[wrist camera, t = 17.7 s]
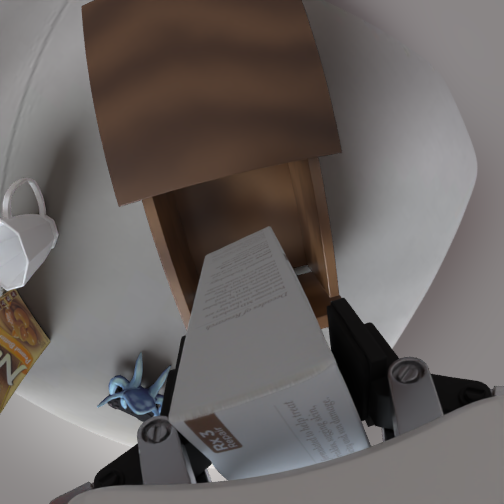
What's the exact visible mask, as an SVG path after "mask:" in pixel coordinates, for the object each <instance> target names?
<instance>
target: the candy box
mask: <svg viewBox="0 0 504 504" xmlns="http://www.w3.org/2000/svg"><path fill="white" fill-rule="evenodd" d="M49 343H50V340H49V339H48V337H47V336H46V335H45V333H44V332H43V330H42V329H41V327H40V326H39V325H38V323H37V322H36V320H35V319H34V317H33V316H32V314H31V313H30V311H29V310H28V308H27V307H26V305H25V304H24V302H23V300H22V299H21V297H20V295H19V293H18V291H17V290H16V289H12V290H9V291H8V292H6V293H5V294H4V295H3V296H1V297H0V413H1V412H2V410H3V409H4V407H5V405H6V404H7V402H8V401H9V399H10V398H11V396H12V395H13V393H14V392H15V390H16V389H17V387H18V386H19V384H20V383H21V381H22V380H23V379H24V377H25V376H26V374H27V373H28V372H29V370H30V369H31V367H32V366H33V365H34V363H35V362H36V360H37V359H38V358H39V356H40V355H41V354H42V352H43V351H44V350H45V348H46V347H47V346H48V344H49Z"/></svg>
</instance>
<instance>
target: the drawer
mask: <svg viewBox="0 0 504 504" xmlns="http://www.w3.org/2000/svg"><path fill="white" fill-rule="evenodd" d="M142 203H143V206H144V209H145V213H146V216H147V219H148V223H149V226H150V229H151V232H152V235H153V239H154V242H155V245H156V248H157V251H158V254H159V257H160V260H161V263H162V266H163V269H164V272H165V274H166V277H167V280H168V283H169V286H170V288H171V291H172V294H173V297H174V299H175V302H176V305H177V307H178V310H179V313H180V315H181V318H182V320H183V323H184V326H185V328H186V331H187V329H188V325H189V321H190V316H191V312H192V308H193V304H194V299H195V295H196V291H197V287H198V283H199V279H200V276H201V271H202V267H203V263H204V259H205V256H206V255H207V254H210V253H212V252H214V251H217V250H219V249H221V248H223V247H225V246H227V245H229V244H231V243H234V242H236V241H238V240H240V239H242V238H244V237H246V236H248V235H251V234H253V233H255V232H258V231H260V230H262V229H264V228H266V227H268V226H270V227H271V228H272V230H273V232H274V234H275V236H276V237H277V239H278V241H279V243H280V245H281V247H282V249H283V251H284V253H285V255H286V257H287V258H288V260H289V262H290V264H291V266H292V268H297V267H301V266H305V265H308V266H309V268H310V269H311V271H312V272H309V273H305V274H301V275H297V278H298V280H299V282H300V284H301V286H302V288H303V291H304V293H305V295H306V297H307V299H308V301H309V303H310V305H311V308H312V310H313V312H314V314H315V317H316V319H317V321H318V323H319V326H320V328H321V329H323V328H326V327H329V326H328V317H327V306H329V305H330V302H331V301H334V300H337V299H341V296H340V295H339V289H338V280H337V271H336V263H335V255H334V248H333V241H332V234H331V227H330V220H329V214H328V208H327V202H326V196H325V190H324V184H323V179H322V173H321V168H320V163H319V158H318V157H315V158H310V159H304V160H299V161H294V162H289V163H284V164H280V165H275V166H270V167H266V168H261V169H256V170H252V171H248V172H243V173H239V174H235V175H231V176H227V177H223V178H219V179H215V180H211V181H207V182H203V183H199V184H196V185H192V186H188V187H184V188H181V189H177V190H174V191H170V192H167V193H163V194H160V195H156V196H153V197H150V198H146V199H143V200H142Z"/></svg>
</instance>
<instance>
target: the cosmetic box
mask: <svg viewBox="0 0 504 504" xmlns="http://www.w3.org/2000/svg"><path fill="white" fill-rule="evenodd" d="M169 422H170V423H171V424H172V425H173V426H174V427H175V428H176V429H177V430H178V431H179V432H180V433H181V434H182V435H183V436H184V437H185V438H186V439H187V440H188V441H190V442H191V443H192V444H193V445H194V446H195V447H196V448H197V449H198V450H199V451H200V452H202V453H203V454H204V455H205V456H206V457H207V458H208V459H209V460H210V461H211V462H212V464H213V465H214V467H215V468H216V469H217V471H218V472H219V473H220V474H221V475H222V476H223V477H225V478H226V479H227V480H237V479H244V478H251V477H257V476H263V475H268V474H274V473H279V472H284V471H289V470H293V469H297V468H302V467H306V466H310V465H314V464H317V463H321V462H325V461H328V460H332V459H335V458H338V457H342V456H345V455H348V454H351V453H354V452H357V451H360V450H363V449H366V448H369V447H371V445H370V442H369V440H368V437H367V435H366V432H365V430H364V427H363V424H362V422H361V419H360V417H359V414H358V412H357V410H356V407H355V405H354V403H353V400H352V398H351V395H350V393H349V391H348V388H347V386H346V384H345V381H344V379H343V377H342V375H341V373H340V371H339V369H338V367H337V364H336V360H335V358H334V356H333V354H332V352H331V350H330V348H329V346H328V344H327V342H326V340H325V337H324V335H323V333H322V330H321V328H320V326H319V323H318V321H317V319H316V317H315V314H314V312H313V310H312V308H311V305H310V303H309V301H308V299H307V297H306V295H305V293H304V291H303V288H302V286H301V284H300V282H299V280H298V278H297V276H296V274H295V272H294V270H293V268H292V266H291V264H290V262H289V260H288V258H287V257H286V255H285V253H284V251H283V249H282V247H281V245H280V243H279V241H278V239H277V237H276V236H275V234H274V232H273V230H272V228H271V227H270V226H268V227H266V228H264V229H262V230H260V231H258V232H255V233H253V234H251V235H248V236H246V237H244V238H242V239H240V240H238V241H236V242H234V243H231V244H229V245H227V246H225V247H223V248H221V249H219V250H217V251H214V252H212V253H210V254H207V255H206V256H205V259H204V263H203V267H202V271H201V276H200V279H199V283H198V287H197V291H196V295H195V299H194V304H193V308H192V312H191V316H190V321H189V325H188V329H187V334H186V338H185V342H184V347H183V351H182V356H181V360H180V365H179V369H178V374H177V379H176V384H175V389H174V393H173V397H172V403H171V407H170V412H169Z"/></svg>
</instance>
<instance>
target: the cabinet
mask: <svg viewBox="0 0 504 504" xmlns="http://www.w3.org/2000/svg"><path fill="white" fill-rule="evenodd" d="M82 20H83V31H84V41H85V50H86V58H87V65H88V72H89V79H90V85H91V91H92V97H93V102H94V107H95V113H96V118H97V123H98V127H99V132H100V136H101V141H102V145H103V149H104V154H105V158H106V162H107V166H108V170H109V173H110V177H111V181H112V184H113V188H114V192H115V195H116V199H117V202H118V205H119V207H121V206H124V205H127V204H130V203H133V202H137V201H140V200H143V199H146V198H150V197H153V196H156V195H160V194H163V193H167V192H170V191H174V190H177V189H181V188H184V187H188V186H192V185H196V184H199V183H203V182H207V181H211V180H215V179H219V178H223V177H227V176H231V175H235V174H239V173H243V172H248V171H252V170H256V169H261V168H266V167H270V166H275V165H280V164H284V163H289V162H294V161H299V160H304V159H310V158H315V157H321V156H326V155H332V154H338V153H342V150H341V145H340V140H339V135H338V130H337V125H336V121H335V116H334V112H333V107H332V103H331V99H330V95H329V90H328V86H327V83H326V79H325V75H324V71H323V67H322V64H321V60H320V57H319V53H318V50H317V46H316V43H315V39H314V36H313V33H312V30H311V27H310V24H309V20H308V17H307V14H306V11H305V9H304V6H303V3H302V0H94V1H92V2H89V3H87V4H85V5H83V6H82Z"/></svg>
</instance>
